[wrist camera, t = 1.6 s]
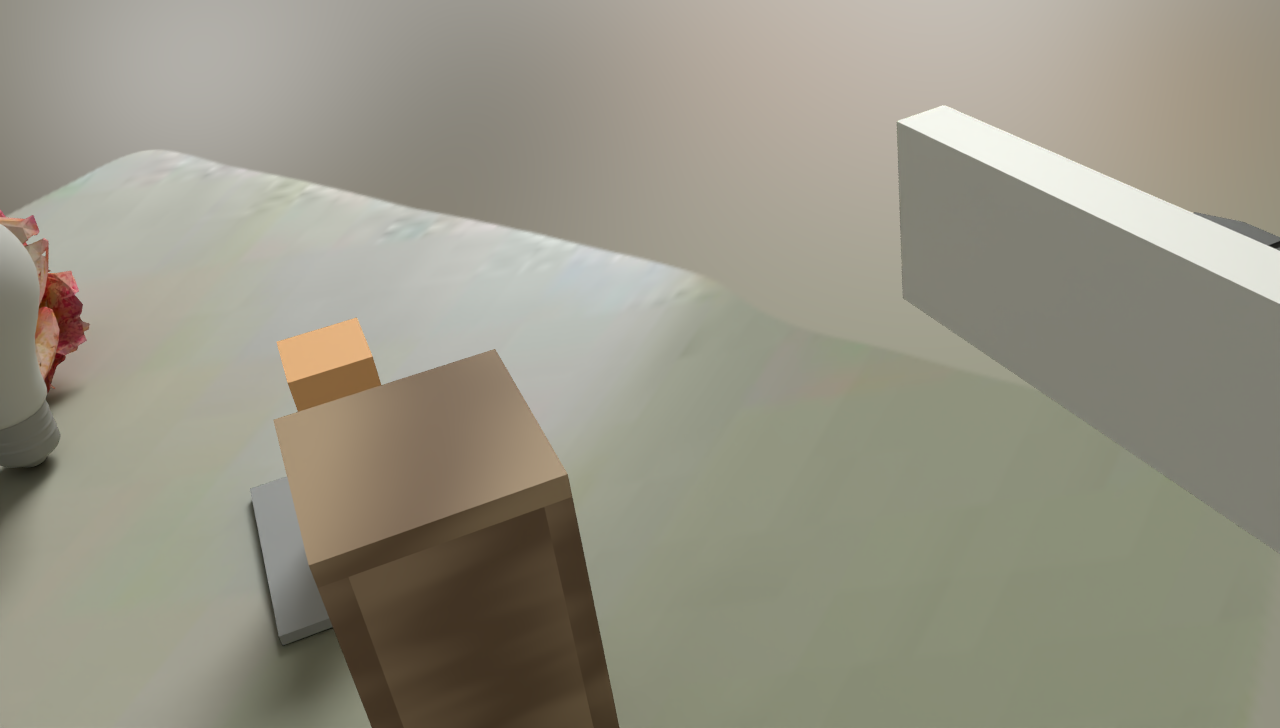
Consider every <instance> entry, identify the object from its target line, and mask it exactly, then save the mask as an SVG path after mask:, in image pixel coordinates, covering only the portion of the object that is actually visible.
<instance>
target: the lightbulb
mask: <svg viewBox="0 0 1280 728" xmlns="http://www.w3.org/2000/svg"><path fill="white" fill-rule="evenodd" d="M39 296H40V285H39V280H38V275H37V270H36V267H35V265H34V262H33V260H32V258H31V256H30V254H29V253H28V251H27V250H26V248H25V247H24V246H23V244H22V243H21V242H20V241H19V239H18V238H17V237H16V236H15V235H14V234H13V233H12V232H11V231H9V230H8V229H7V228H6V227H5V226H3V225H1V224H0V465H1V466H4V467H9V468H16V467H33V466H36V465H38V464H40V463H42V462H43V461H44V460H45V459H46V458H47V456H48V455H49V454H50V453H51V452H52V451H53V450H54V449H55V448H56V446H57V445H58V443H59V440H60V432H59V430H58V427H57V423H56V421H55V419H54V418H53V414H52V412H51V410H50V409H49V405H48V403H47V401H46V396H47V387H46V384H45V382H44V379H43V377H42V375H41V372H40V369H39V365H38V360H37V356H36V351H35V332H36V326H37V320H38V311H39Z"/></svg>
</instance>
